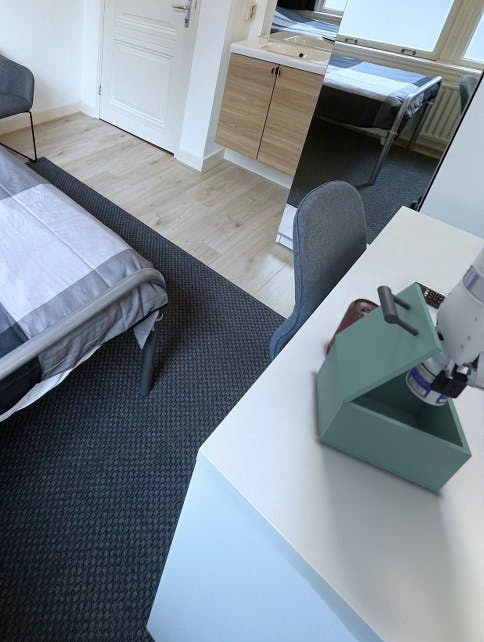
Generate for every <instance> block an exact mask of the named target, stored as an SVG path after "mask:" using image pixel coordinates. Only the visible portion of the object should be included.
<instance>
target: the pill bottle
mask: <svg viewBox="0 0 484 642" xmlns="http://www.w3.org/2000/svg"><path fill="white" fill-rule="evenodd" d="M440 343H441V345H442V348H443V352H441V353H439V354H437V355H435V356H433V357H431V358H430V359H428V360H426V361H424V362H422V363H420V364H418V365H417V366H415V367H413V368H411V369H410V371H409V372H408V374H407V376H406V382H407V385H408V387H409V388H410V390H411V391H412V392H413V393H414V394H415V395H416V396H417V397H419V398H420V399H421V400H423V401H425V402H427V403H429V404H432V405H436V406H440V405H443V404H445V403H446V402H447V401H448V399H449V398H450V397H448V396H445V395H442V394H440V393H437V392H434V391H432V390H431V388H430V384H431V383H432V382H433V380H434V379H435V378H436V376H437V375H438V374H439V372H440V371H441V370H445V371H446V369H447V366H448V364H449V362H450V359H451V356H450V354H449V351H448V349H447V346H446V344H445V341H440ZM464 369H466V367H464V366H459V367H458V369H457V372H460V373H464V374H466V371H465V370H464Z"/></svg>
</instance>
